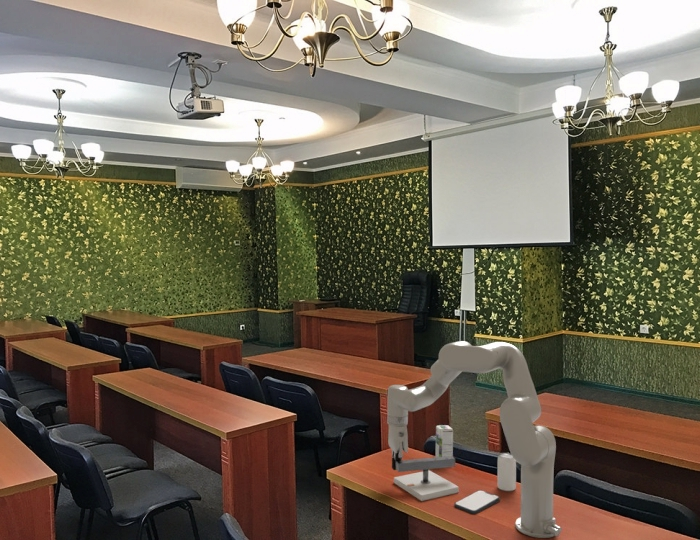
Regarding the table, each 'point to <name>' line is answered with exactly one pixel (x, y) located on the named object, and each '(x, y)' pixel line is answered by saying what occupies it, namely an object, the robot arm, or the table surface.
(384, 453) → the table surface
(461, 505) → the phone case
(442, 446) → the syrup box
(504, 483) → the can
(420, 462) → the t key
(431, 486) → the key plate
